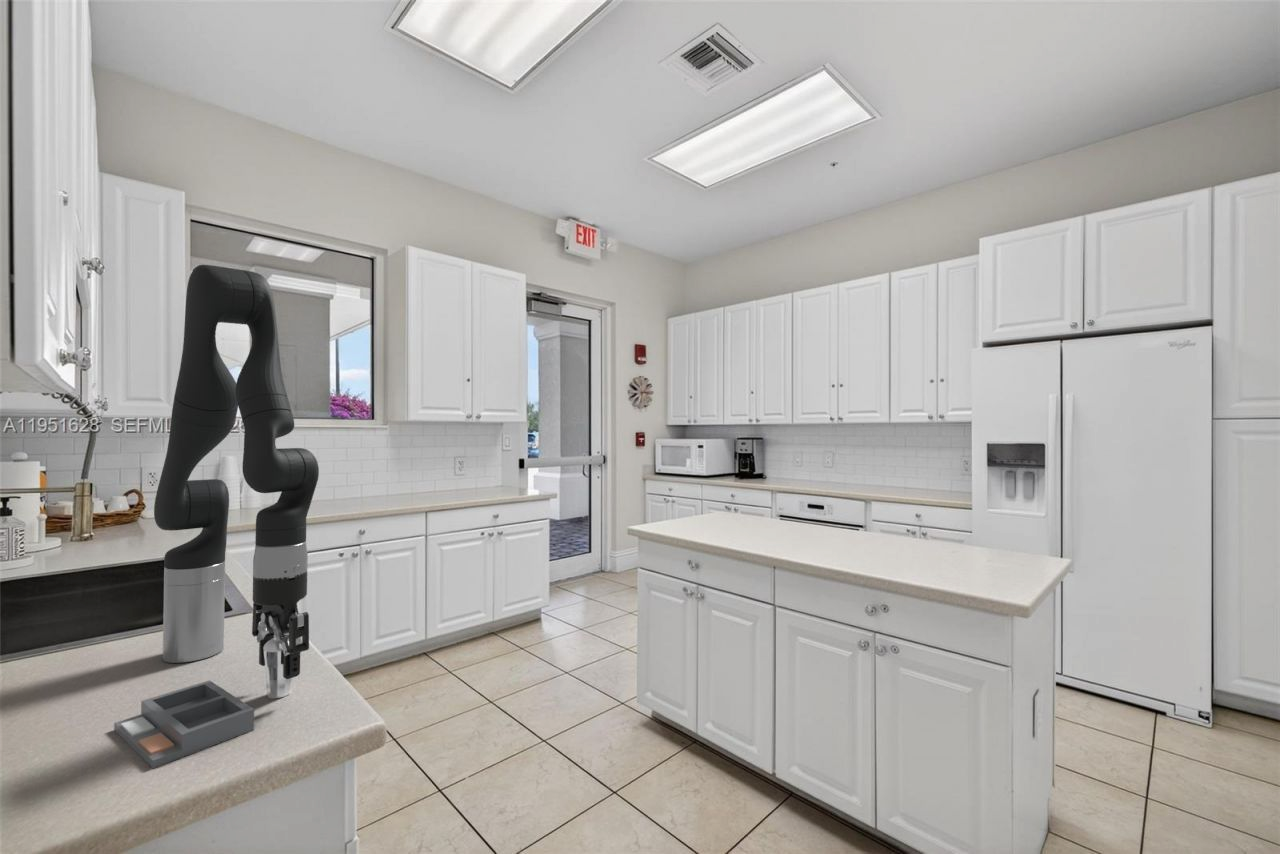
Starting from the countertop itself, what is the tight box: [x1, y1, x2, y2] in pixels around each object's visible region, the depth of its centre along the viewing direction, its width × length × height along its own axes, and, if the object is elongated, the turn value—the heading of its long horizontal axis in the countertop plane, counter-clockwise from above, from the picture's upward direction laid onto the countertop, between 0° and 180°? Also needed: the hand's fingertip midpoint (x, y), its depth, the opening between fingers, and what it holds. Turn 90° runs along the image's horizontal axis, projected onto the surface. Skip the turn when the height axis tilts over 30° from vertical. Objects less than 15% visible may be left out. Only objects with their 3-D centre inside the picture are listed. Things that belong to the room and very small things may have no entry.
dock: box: [113, 680, 255, 769], centre depth 82 cm, size 16×12×3 cm
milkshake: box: [263, 638, 293, 700], centre depth 93 cm, size 5×5×10 cm
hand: (279, 670), depth 93 cm, fingers open, 8 cm apart
